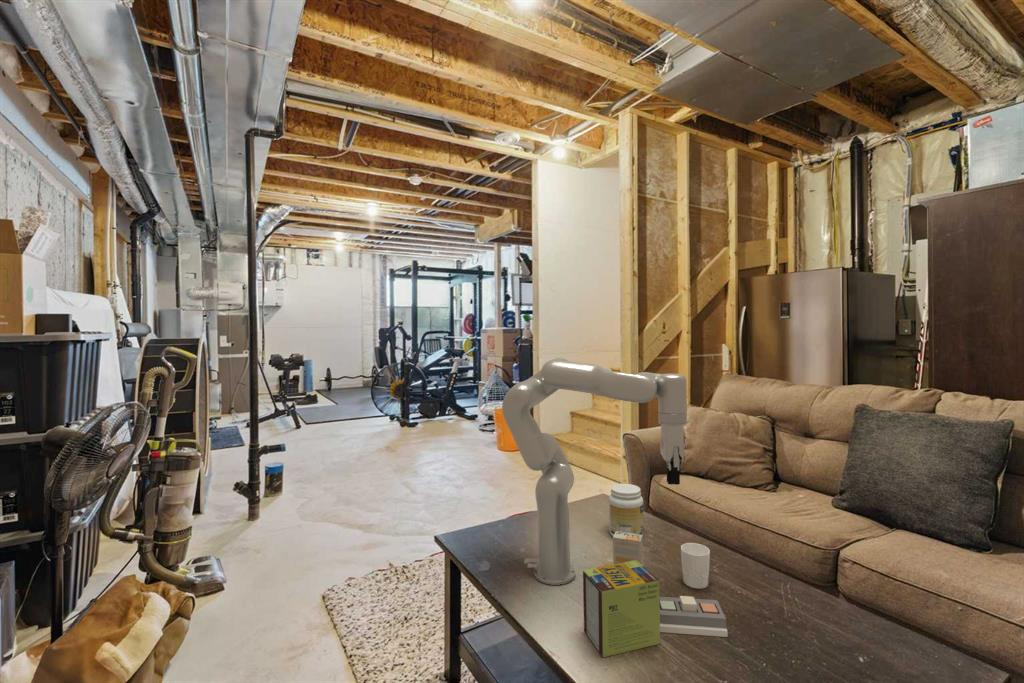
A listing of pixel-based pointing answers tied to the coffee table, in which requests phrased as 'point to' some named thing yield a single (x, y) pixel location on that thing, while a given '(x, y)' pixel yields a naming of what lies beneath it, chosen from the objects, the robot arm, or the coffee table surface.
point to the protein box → (621, 607)
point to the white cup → (695, 565)
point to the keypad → (693, 620)
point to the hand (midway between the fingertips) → (673, 483)
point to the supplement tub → (626, 509)
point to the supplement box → (627, 547)
